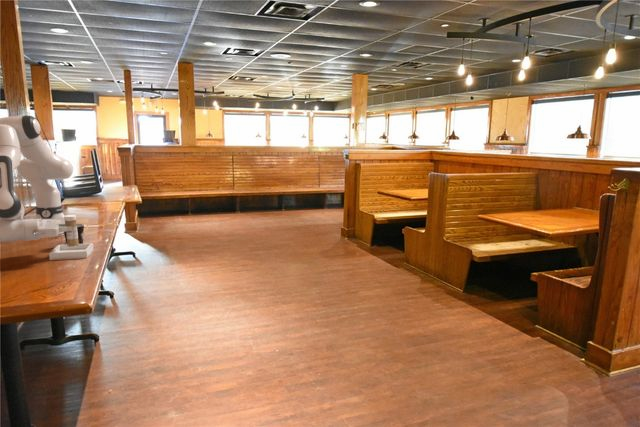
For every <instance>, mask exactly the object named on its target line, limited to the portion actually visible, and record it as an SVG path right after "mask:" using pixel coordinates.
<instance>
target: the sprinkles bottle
mask: <svg viewBox="0 0 640 427" xmlns="http://www.w3.org/2000/svg"><path fill="white" fill-rule="evenodd" d="M64 221H65V226H66V227H67V226H72V231H66V236H67V244H68V245H67V246H69V247H74V246H78V245H79V242H78V231H77V224H78V223H77V216H76V214H66V215H65V216H64Z"/></svg>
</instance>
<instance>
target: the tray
mask: <svg viewBox="0 0 640 427" xmlns="http://www.w3.org/2000/svg"><path fill="white" fill-rule="evenodd" d="M67 245H68V244H66V243H65V244H58V245H56V246H55V247H54V248H53V249H51V251H50V252H48V254H49V256H48V257H49V261H56V260H58V261H59V260H60V261H61V260H74V259H78V260H79V259H88V258H89V256H90V255H91V253H93V251H94V243H89V242H88V243H83V244H79V245H78V246H74V247H69V246H67Z"/></svg>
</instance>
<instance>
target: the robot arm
mask: <svg viewBox="0 0 640 427" xmlns="http://www.w3.org/2000/svg"><path fill="white" fill-rule="evenodd" d="M41 129H42V128H41V125H40V123H39V120H38V119H37V118H36V117H35V116H33V115H28V114H27V115H16V116H15V115H14V116H5V117H0V242H1V243H2V242H3V243H6V242H8V243H9V242H10V243H11V242H16V241H33V240H34V241H37V240H41V238H56V237H59V236H60V235H61V234H64V232H66V231H72V226H67V227H66V226H65V221H64V216H66V215H65V213H64V208H63V204H62V200H61V199H62V198H61V197H62V196H61V192H60V190H59V189H58V188H57V187H55V186H53V185H52V184H51V183H50V180H51V181H61V180H66V179H70V178H71V177H72V174H73V172H74V168H73V165H72V163H71V162H70V161H69V160H67V159H65V158H63V157H61V156H59V155H58V154H57V153H55V152H54V151H53V150H52V149H50V148H49V147H48V146H47V144H46V143H45V141H44V140H43V138H42V136H41V133H42V130H41ZM22 157H24V158H23V159H22ZM16 169H17V173H18V174H19V176H21V178H23V179H25V181H27V182H28V184H29V185H30V187H31V188H32V191H33V193H34V199H35V200H34V201H35V209H34V211H35V215H34V216H33V217H32V218H25V212H26V208H25V206H24V204H23V203H22V201H21V199H20V198H19V196H18V195H17V193H16V192H15V184H14V170H16Z"/></svg>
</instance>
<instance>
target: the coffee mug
mask: <svg viewBox="0 0 640 427" xmlns="http://www.w3.org/2000/svg"><path fill="white" fill-rule="evenodd" d="M76 224H77V231H78V242H79V244H84V233H85V232H84V229H85V224H83V223H76ZM63 234H64V235H63V236H64V239H65V245H66V244H67V236H66V232H64V233H63Z"/></svg>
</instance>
